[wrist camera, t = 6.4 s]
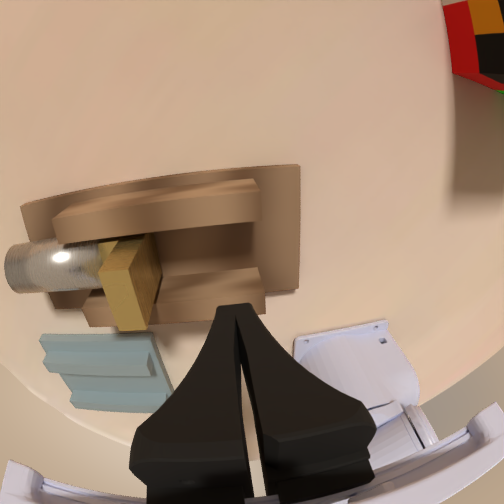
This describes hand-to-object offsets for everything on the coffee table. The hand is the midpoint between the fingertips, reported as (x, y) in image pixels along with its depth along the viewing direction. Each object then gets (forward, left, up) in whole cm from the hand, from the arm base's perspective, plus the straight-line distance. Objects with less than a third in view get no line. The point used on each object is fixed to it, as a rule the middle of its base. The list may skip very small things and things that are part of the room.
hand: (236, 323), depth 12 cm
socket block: (+5, 0, -9) cm, 10 cm away
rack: (+13, +13, -9) cm, 21 cm away
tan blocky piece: (+6, 0, -8) cm, 10 cm away
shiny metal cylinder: (+12, 0, -8) cm, 14 cm away
